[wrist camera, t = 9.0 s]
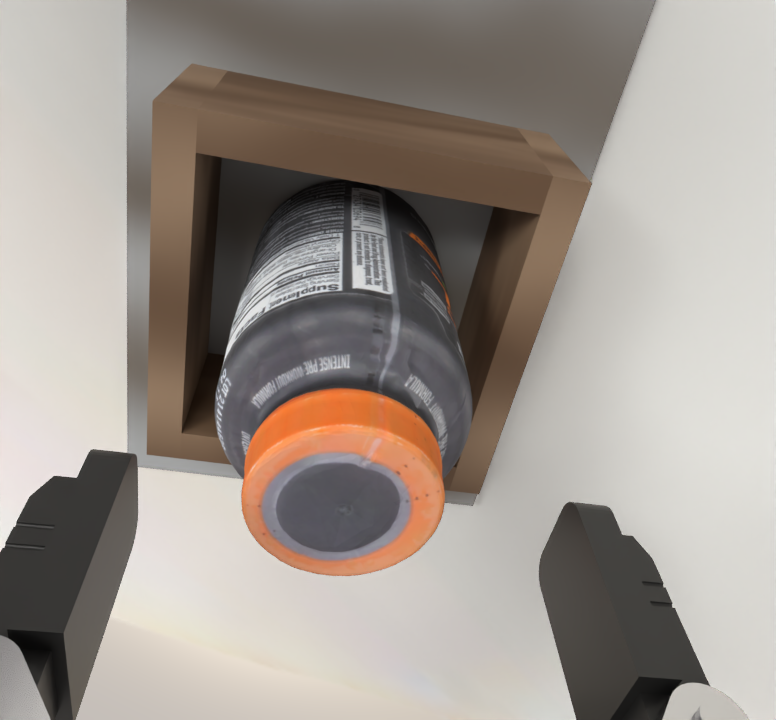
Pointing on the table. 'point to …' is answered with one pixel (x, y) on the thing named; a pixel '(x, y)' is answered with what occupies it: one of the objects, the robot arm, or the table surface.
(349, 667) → the table surface
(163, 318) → the well
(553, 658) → the table surface
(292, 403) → the pill bottle
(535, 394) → the table surface
